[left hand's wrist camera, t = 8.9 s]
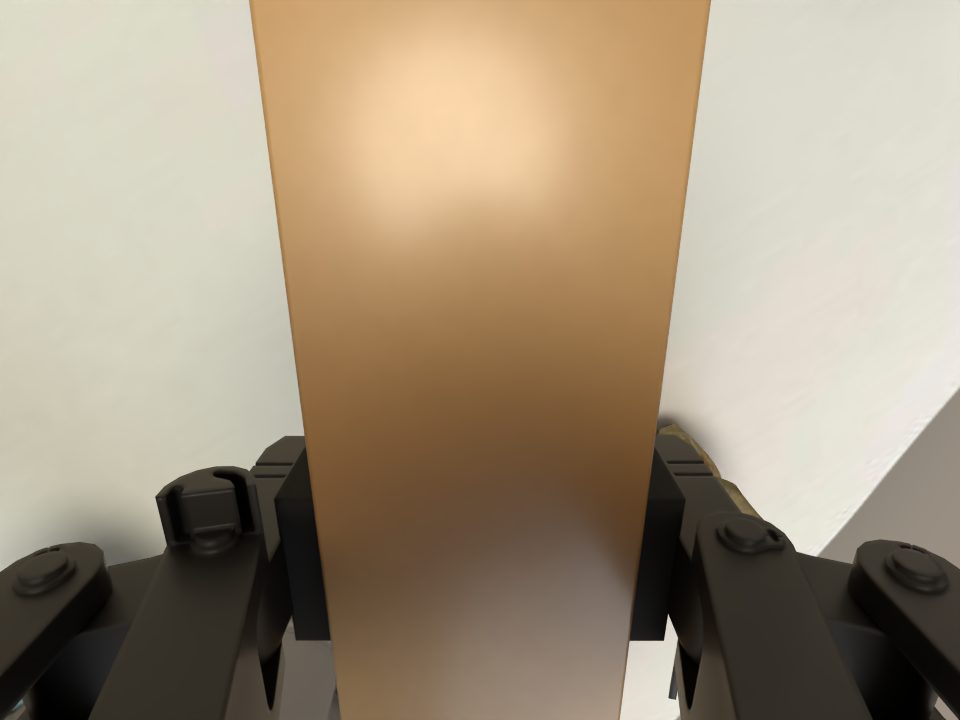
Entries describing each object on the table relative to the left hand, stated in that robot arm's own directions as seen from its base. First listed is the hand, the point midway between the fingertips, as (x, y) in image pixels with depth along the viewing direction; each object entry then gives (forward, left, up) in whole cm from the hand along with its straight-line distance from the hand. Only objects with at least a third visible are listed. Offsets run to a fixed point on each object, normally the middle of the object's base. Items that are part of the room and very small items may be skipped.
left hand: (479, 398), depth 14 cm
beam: (+28, +12, -1) cm, 30 cm away
